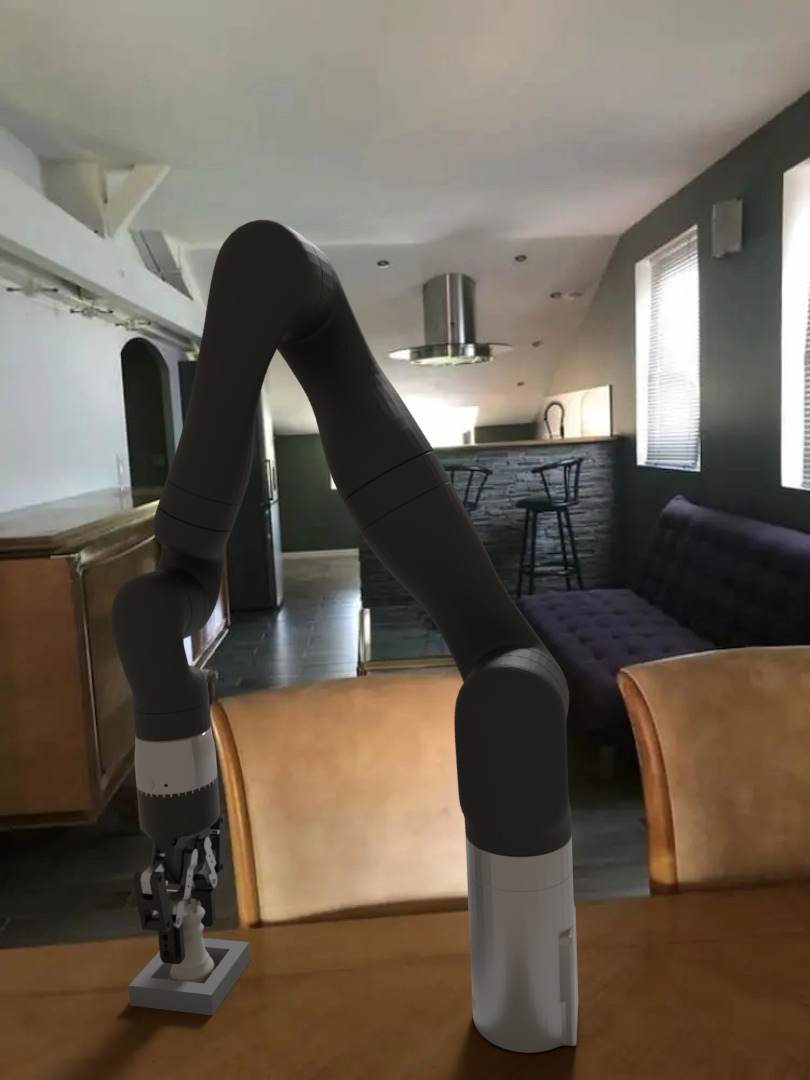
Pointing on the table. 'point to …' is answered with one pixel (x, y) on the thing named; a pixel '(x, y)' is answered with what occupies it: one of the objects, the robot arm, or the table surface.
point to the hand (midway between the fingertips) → (189, 941)
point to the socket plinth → (191, 996)
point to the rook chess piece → (193, 948)
